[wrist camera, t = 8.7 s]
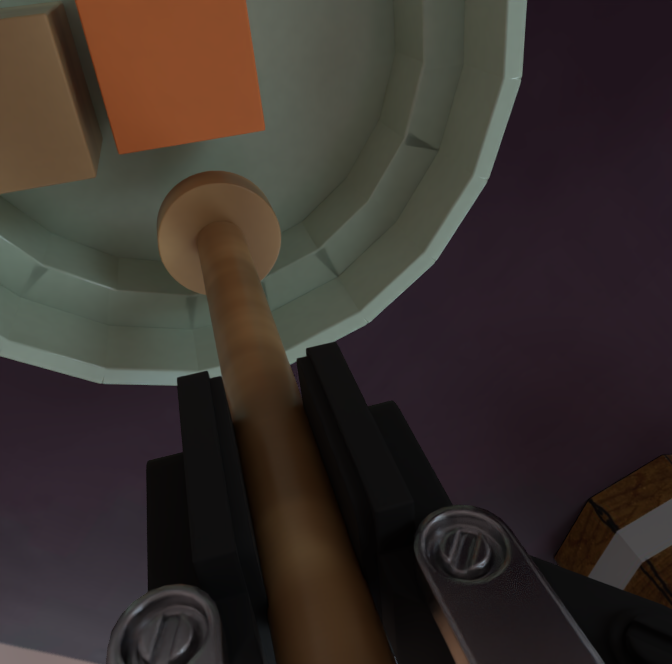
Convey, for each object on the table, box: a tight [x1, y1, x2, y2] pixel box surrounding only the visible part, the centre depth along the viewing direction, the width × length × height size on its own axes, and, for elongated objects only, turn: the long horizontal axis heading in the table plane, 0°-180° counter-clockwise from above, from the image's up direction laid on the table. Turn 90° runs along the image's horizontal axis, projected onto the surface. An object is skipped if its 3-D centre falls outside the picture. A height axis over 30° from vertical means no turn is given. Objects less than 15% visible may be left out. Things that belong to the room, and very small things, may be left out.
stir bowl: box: [0, 0, 527, 386], centre depth 17 cm, size 18×18×6 cm
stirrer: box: [157, 171, 396, 664], centre depth 13 cm, size 4×4×15 cm
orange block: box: [75, 0, 265, 155], centre depth 18 cm, size 4×4×4 cm
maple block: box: [0, 1, 103, 194], centre depth 17 cm, size 4×4×4 cm
